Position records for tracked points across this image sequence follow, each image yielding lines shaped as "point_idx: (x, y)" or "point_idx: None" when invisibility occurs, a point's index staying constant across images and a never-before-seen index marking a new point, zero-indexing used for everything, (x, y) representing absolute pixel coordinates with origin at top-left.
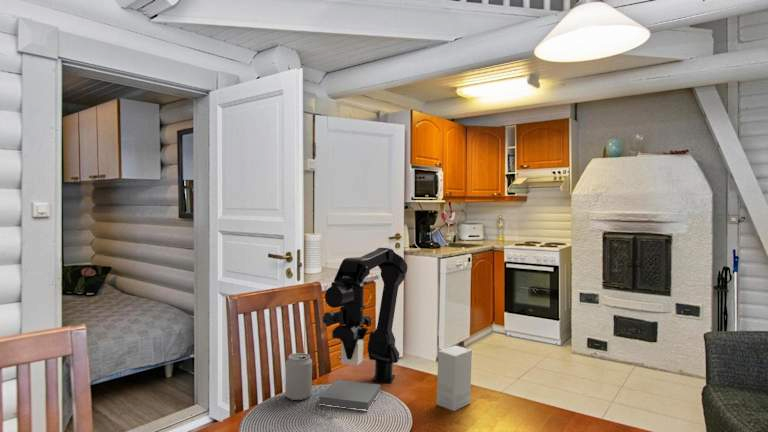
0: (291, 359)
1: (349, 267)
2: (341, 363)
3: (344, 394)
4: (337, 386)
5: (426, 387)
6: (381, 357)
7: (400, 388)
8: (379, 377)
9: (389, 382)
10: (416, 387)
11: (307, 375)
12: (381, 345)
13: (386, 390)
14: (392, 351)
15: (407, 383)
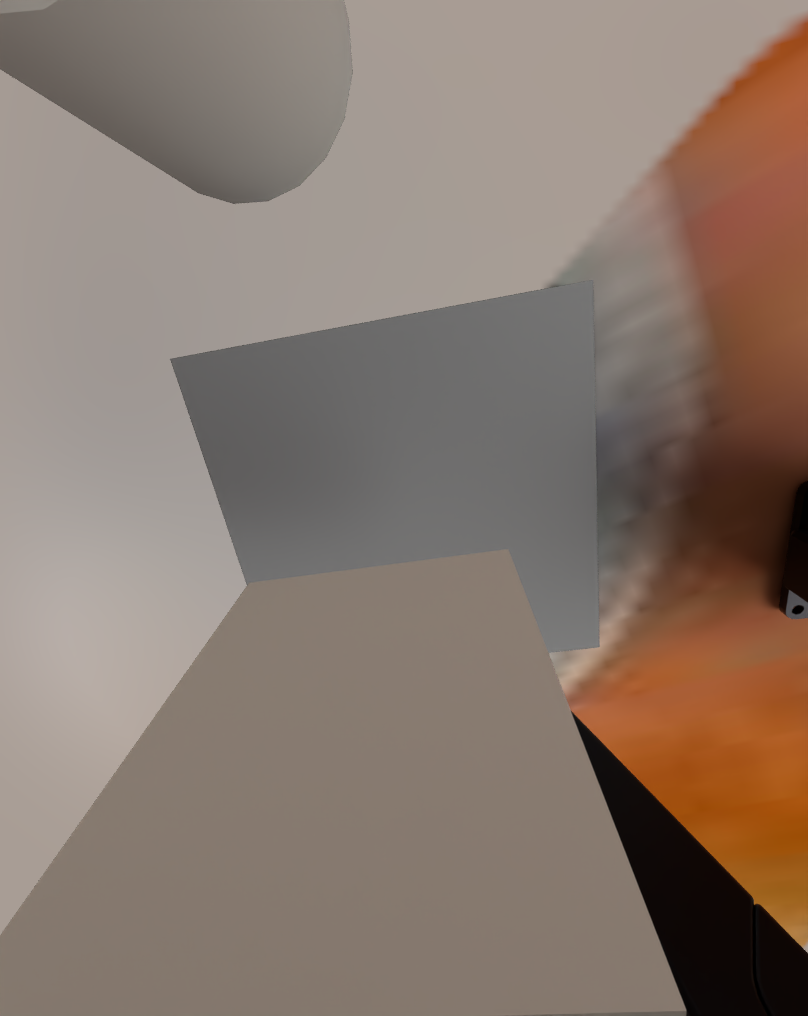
0: None
1: None
2: (252, 589)
3: (312, 512)
4: (435, 382)
5: (753, 782)
6: None
7: (698, 681)
8: (804, 561)
9: (781, 607)
10: (739, 744)
11: (83, 112)
12: None
13: (639, 626)
14: None
15: (801, 690)
